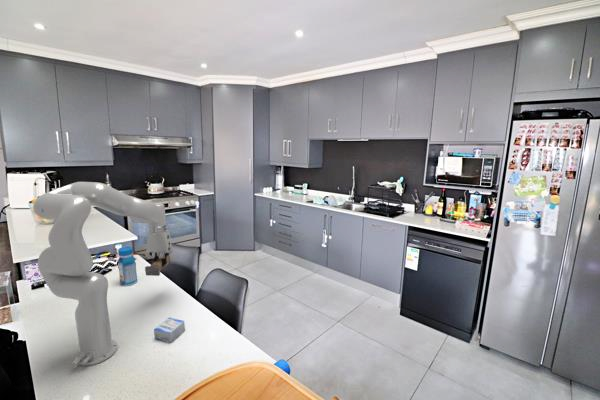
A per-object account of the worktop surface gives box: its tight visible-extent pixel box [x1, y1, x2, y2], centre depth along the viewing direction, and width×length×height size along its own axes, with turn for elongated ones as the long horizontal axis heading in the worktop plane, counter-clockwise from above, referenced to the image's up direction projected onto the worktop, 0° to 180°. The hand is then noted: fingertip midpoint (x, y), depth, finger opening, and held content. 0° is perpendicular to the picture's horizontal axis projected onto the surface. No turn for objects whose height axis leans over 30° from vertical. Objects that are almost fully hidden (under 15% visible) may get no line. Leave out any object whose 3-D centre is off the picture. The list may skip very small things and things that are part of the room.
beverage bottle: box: [117, 246, 138, 287], centre depth 158 cm, size 8×8×20 cm
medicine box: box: [153, 317, 186, 344], centre depth 117 cm, size 8×4×9 cm
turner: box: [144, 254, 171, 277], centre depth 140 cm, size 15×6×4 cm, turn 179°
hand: (160, 264), depth 140 cm, fingers closed on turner, 3 cm apart
